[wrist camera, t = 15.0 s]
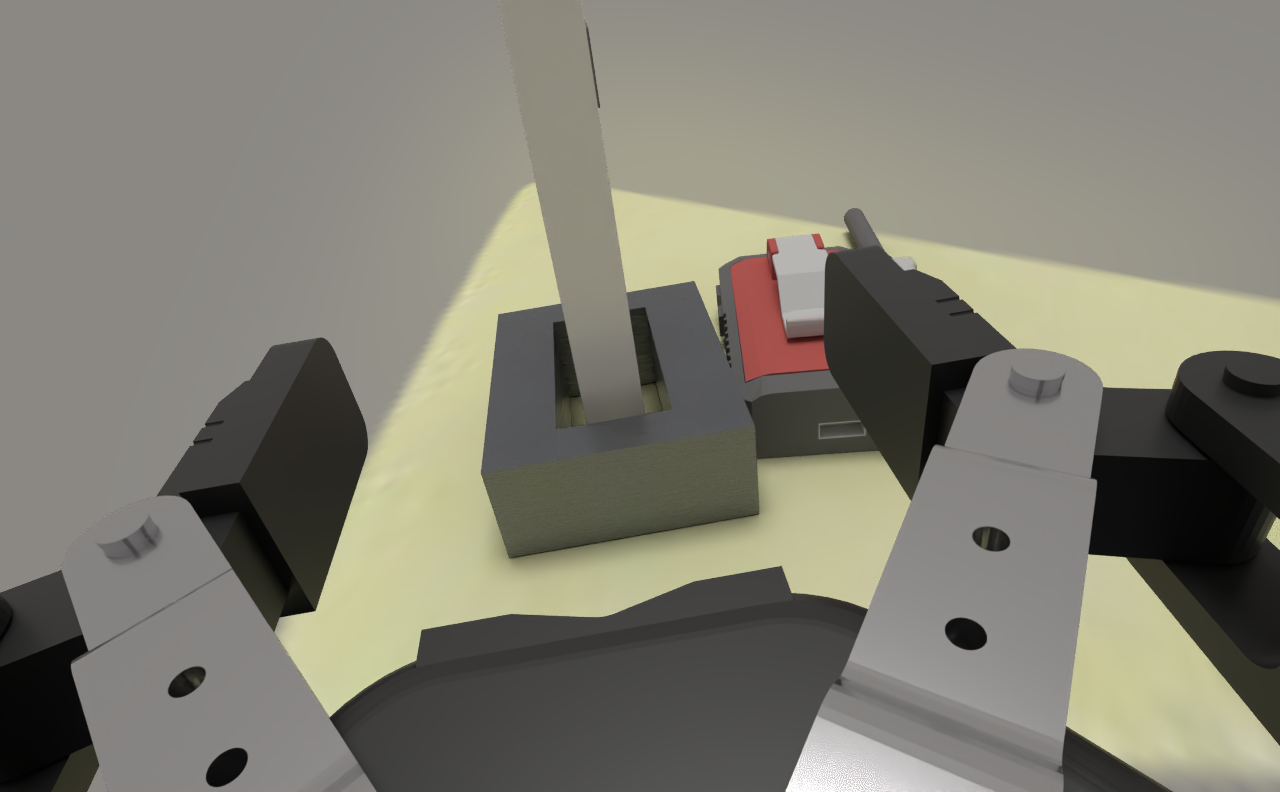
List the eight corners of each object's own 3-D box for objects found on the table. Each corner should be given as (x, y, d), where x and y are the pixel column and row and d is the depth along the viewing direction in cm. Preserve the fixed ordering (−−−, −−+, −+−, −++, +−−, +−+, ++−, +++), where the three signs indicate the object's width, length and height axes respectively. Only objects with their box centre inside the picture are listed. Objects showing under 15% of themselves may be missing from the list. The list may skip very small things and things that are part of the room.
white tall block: (655, 461, 26) (582, -21, 17) (597, 471, 26) (495, -8, 17) (639, 385, 30) (574, -33, 21) (589, 394, 30) (504, -22, 21)
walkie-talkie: (1005, 472, 23) (871, 235, 40) (1028, 357, 21) (875, 155, 37) (734, 491, 24) (712, 252, 41) (725, 383, 22) (706, 175, 38)
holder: (759, 513, 23) (754, 425, 21) (509, 557, 23) (481, 473, 21) (701, 354, 31) (694, 281, 29) (518, 386, 31) (498, 314, 29)
